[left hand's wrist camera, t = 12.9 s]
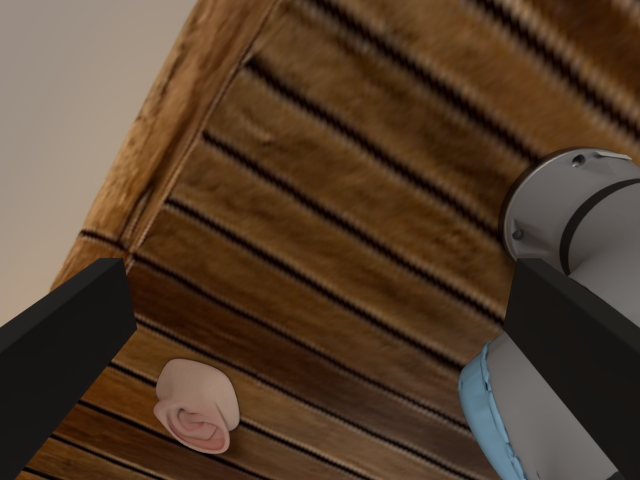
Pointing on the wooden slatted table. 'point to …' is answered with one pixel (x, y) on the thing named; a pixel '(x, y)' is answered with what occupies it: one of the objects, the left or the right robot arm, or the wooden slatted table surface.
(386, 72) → the wooden slatted table surface
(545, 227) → the left robot arm
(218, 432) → the anatomical model
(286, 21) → the wooden slatted table surface
